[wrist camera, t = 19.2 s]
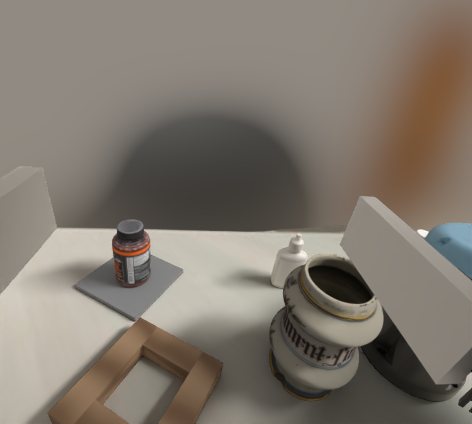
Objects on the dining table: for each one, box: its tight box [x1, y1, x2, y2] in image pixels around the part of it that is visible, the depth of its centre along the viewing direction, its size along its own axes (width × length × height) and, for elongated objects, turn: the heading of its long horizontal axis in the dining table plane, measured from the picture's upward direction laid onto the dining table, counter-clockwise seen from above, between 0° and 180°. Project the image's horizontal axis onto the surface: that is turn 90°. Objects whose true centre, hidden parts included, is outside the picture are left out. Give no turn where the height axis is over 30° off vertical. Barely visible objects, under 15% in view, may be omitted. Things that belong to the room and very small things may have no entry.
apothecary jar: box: [269, 254, 383, 401], centre depth 35 cm, size 12×12×18 cm
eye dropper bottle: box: [271, 234, 308, 288], centre depth 51 cm, size 4×6×12 cm
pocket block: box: [48, 318, 223, 424], centre depth 33 cm, size 14×14×2 cm
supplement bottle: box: [112, 220, 151, 287], centre depth 46 cm, size 6×6×11 cm
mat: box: [75, 255, 183, 321], centre depth 49 cm, size 13×13×1 cm
